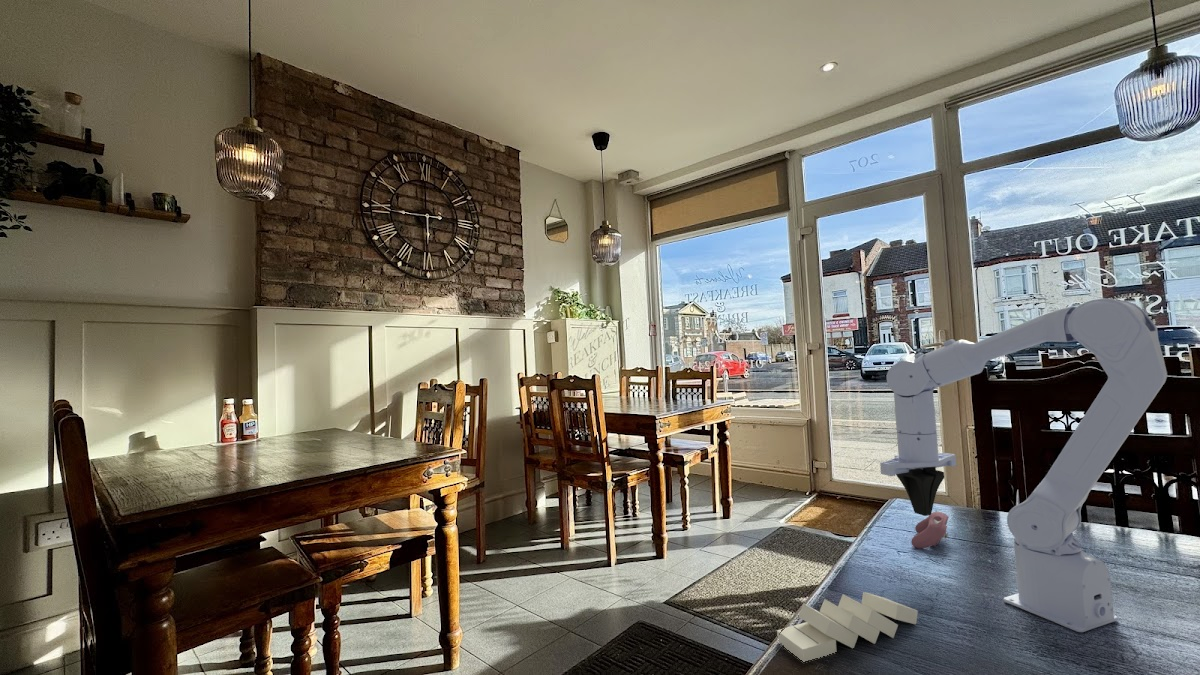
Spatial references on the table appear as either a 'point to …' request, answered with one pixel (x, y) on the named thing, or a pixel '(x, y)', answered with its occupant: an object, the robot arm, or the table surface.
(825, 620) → the domino
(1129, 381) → the robot arm
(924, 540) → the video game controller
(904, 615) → the domino
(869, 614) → the domino
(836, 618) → the domino
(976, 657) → the table surface
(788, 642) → the domino
